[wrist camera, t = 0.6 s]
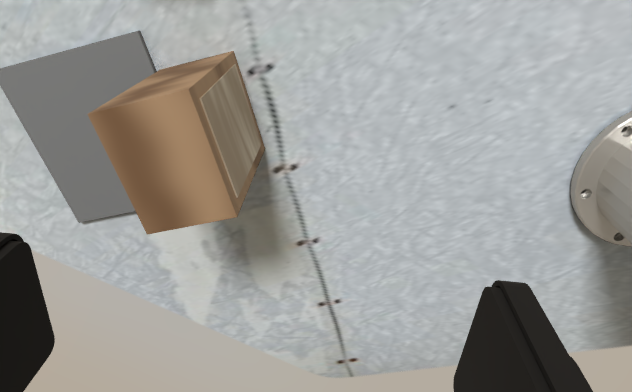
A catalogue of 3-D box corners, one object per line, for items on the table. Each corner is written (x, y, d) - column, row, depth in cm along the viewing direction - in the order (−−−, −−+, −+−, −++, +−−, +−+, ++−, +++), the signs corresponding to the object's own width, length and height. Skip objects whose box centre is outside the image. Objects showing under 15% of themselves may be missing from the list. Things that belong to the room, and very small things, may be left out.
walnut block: (235, 50, 33) (190, 88, 23) (266, 148, 37) (238, 216, 27) (160, 69, 34) (87, 114, 24) (197, 163, 38) (147, 234, 28)
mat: (139, 30, 33) (137, 31, 32) (206, 194, 39) (205, 197, 39) (-5, 70, 35) (-8, 71, 34) (81, 220, 41) (78, 222, 41)
